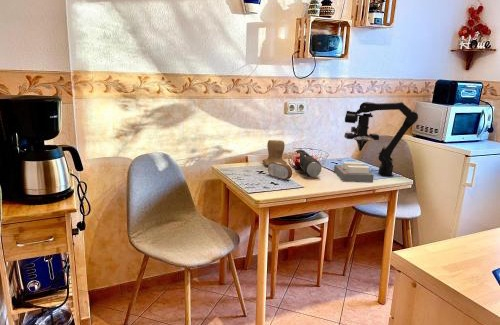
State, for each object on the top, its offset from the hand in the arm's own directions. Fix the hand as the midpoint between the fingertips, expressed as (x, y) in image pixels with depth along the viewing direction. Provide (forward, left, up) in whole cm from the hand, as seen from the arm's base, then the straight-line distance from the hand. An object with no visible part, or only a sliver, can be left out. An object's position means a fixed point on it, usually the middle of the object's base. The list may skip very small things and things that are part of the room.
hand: (359, 150), depth 218 cm
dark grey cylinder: (+32, +6, -12) cm, 35 cm away
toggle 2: (+7, +20, -7) cm, 22 cm away
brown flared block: (+49, -9, -12) cm, 51 cm away
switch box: (+7, +13, -12) cm, 19 cm away
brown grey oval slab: (+49, +19, -12) cm, 54 cm away
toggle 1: (+7, +12, -8) cm, 16 cm away
